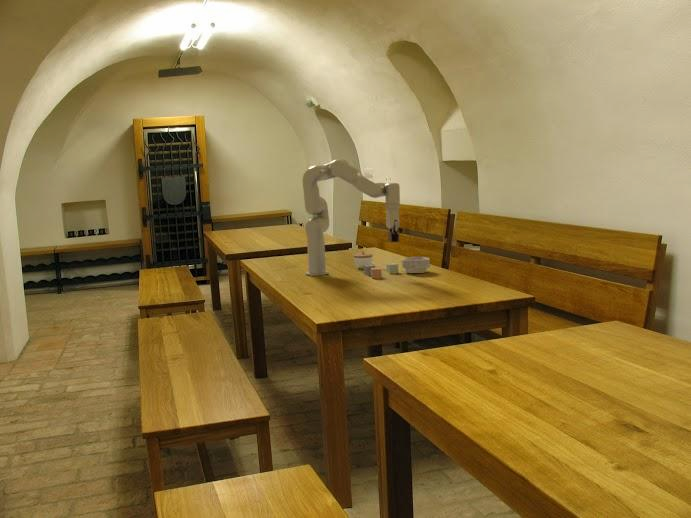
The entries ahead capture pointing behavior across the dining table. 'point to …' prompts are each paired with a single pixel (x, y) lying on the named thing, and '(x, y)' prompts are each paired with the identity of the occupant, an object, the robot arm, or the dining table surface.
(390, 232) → the walnut block
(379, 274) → the terracotta block
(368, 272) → the slate block
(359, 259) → the lidded jar
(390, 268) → the sage block
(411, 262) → the paper bowls
